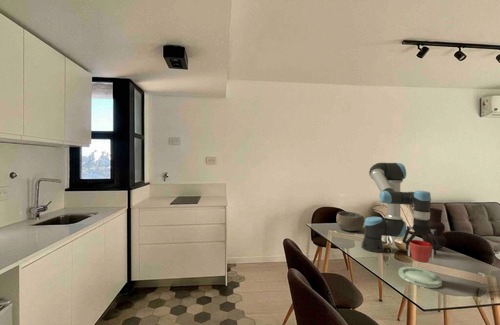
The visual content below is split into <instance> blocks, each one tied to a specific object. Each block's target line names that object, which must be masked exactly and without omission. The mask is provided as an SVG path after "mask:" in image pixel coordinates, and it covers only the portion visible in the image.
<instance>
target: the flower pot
mask: <svg viewBox="0 0 500 325" xmlns="http://www.w3.org/2000/svg"><path fill="white" fill-rule="evenodd" d="M409 245H410V256H411V259H412V261H415V262H418V263H422V264H423V263H424V264H425V263H429V262H430V259H431V251H432V247H433V246H432V245H431V244H430V243H428V242H425V241H423V240H418V239H413V240H412V241H411V242H410V243H409Z"/></svg>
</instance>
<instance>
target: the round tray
mask: <svg viewBox="0 0 500 325" xmlns="http://www.w3.org/2000/svg"><path fill="white" fill-rule="evenodd" d="M398 276H399V277H400V278H401V279H402V280H403V281H405V282H406V283H407V282H408V283H409V282H412V283H414V284H415V285H414V284H413V285H414V286H418V287H422V288H425V289H427V288H428V289H437V288H441V287H442V285H443V281H442V278H441V277H440V276H439V275H437V274H436V273H435V272H432V271H429V270H426V269H423V268H420V267H419V268H418V267H414V266H402V267H400V268H398Z"/></svg>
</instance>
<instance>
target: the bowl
mask: <svg viewBox="0 0 500 325" xmlns="http://www.w3.org/2000/svg"><path fill="white" fill-rule="evenodd" d="M335 218H336V223H337V225H338V226H339V228H340V229H341V230H343V231H347V232H356V231H359V230H362V228H363V227H364V226H365V225H364V224H365V217H364V215H363V214H361V213H357V212H353V211H338V212H337V214H336V217H335Z"/></svg>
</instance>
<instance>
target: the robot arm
mask: <svg viewBox="0 0 500 325" xmlns="http://www.w3.org/2000/svg"><path fill="white" fill-rule="evenodd" d="M368 174H369V175H368V176H369V177H370V179H371V180H373V182H374V183H375V185H376V187H377V188H378V190H379V191H380V192H379V201H380V203H382V204H386V215H385V216H384V218H382V217H381V216H369V217H366V218H364V225H363V226H364V231H363V232H364V236H363V239H362V242H361V244H360V245H361V248H362V249H363V250H365V251H368V252H371V253H383V252H384V251H385V246H384V242H383V240H382V238H383V237H395V238H402V237H403V238H402V243H403V244H405V249H406V250H407V257H409V258H410V256H411V251H410V245H409V243H410V242H411V241H412V240H414V238H415V237H416V236H421V237H423V236H426V237H427V238H428V240H429V242H430V243H431V245H432V246H433V248H432V251H431V255H430V260H431V261H432V262H433V261H434V256H436V255H437V250H436V249H440V248H441V247H440V244H439V241H438V238H437V235H436V234H437V231H436V230H435V229H434V230H432V229H430V220H429V219H430V208H431V201H432V198H431V192H430V191H425V190H415V191H401V184H402V183H403V180H404V179H406V177H407V170H406V167H405V165H404V164H403V163H400V162H399V163H398V162H377V163H374V164H373V165H372V166H371V167H370V168H369V171H368ZM401 205H404V206H405V205H406V206H407V205H408V206H409V205H410V206H413V218H412V219H413V221H412V222H413V223H412V224H413V225H412V226H409V225H407V223H406V221H405V220H404V218H403V217H402V216H401ZM412 230H413V233H412V234H411V235H410V237H409V238H408V236H409V233H410V231H412ZM430 231H431V232H432V234H433V235H434V238H435V241H436V244H437V246H435V245H434V243H433V242H432V240H431V238H430V237H429V235H428V233H429V232H430ZM407 238H408V239H407ZM441 249H442V248H441ZM441 249H440V250H441Z"/></svg>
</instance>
